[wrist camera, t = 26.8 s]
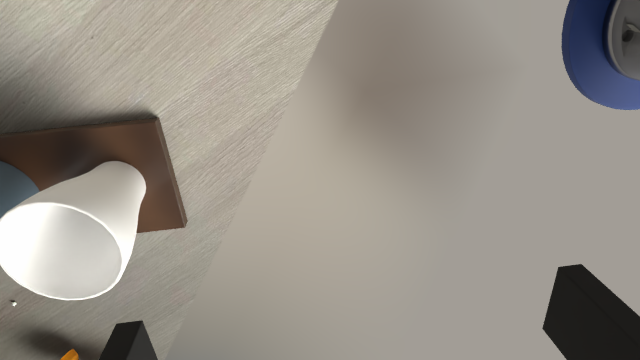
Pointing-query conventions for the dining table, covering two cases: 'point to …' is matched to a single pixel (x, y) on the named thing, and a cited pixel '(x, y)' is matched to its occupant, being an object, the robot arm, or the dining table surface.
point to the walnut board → (96, 148)
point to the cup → (74, 233)
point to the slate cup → (14, 187)
